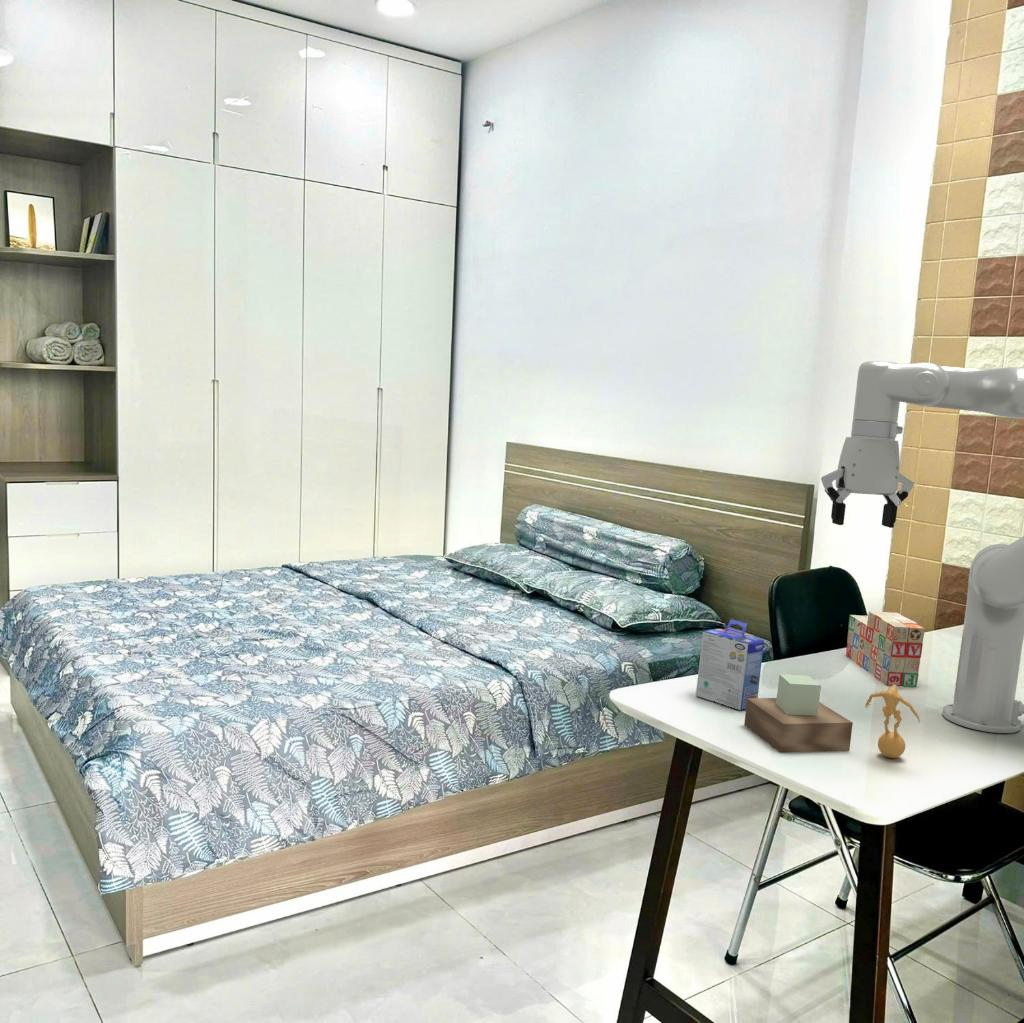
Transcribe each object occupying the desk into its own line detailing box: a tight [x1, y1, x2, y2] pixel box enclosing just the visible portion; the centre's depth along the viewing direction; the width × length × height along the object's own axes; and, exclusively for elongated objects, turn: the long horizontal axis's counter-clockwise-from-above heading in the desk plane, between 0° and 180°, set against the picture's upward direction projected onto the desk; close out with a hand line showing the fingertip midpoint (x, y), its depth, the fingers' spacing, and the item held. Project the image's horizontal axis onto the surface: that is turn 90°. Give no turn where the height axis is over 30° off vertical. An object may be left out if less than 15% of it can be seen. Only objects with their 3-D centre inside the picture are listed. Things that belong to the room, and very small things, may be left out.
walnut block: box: [743, 697, 853, 754], centre depth 157 cm, size 12×12×5 cm
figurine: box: [865, 685, 921, 759], centre depth 149 cm, size 8×6×12 cm
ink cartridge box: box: [695, 618, 765, 711], centre depth 172 cm, size 10×6×14 cm, turn 44°
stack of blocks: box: [845, 610, 926, 688], centre depth 200 cm, size 21×6×12 cm, turn 3°
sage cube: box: [776, 673, 822, 716], centre depth 156 cm, size 5×5×5 cm
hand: (862, 525), depth 176 cm, fingers open, 9 cm apart
